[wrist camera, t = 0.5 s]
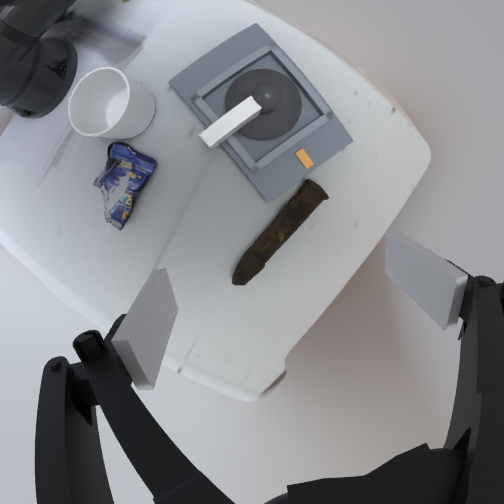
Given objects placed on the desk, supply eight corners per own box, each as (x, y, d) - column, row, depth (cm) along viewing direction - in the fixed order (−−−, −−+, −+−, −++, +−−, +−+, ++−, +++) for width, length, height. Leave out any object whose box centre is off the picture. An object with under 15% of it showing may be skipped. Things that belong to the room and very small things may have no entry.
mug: (99, 79, 32) (63, 63, 22) (165, 90, 33) (140, 70, 23) (82, 129, 34) (42, 127, 24) (145, 145, 36) (115, 142, 26)
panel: (172, 86, 33) (164, 79, 29) (255, 29, 31) (256, 17, 27) (266, 200, 40) (269, 205, 36) (347, 141, 37) (358, 140, 33)
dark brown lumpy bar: (306, 175, 39) (314, 177, 34) (325, 194, 40) (334, 199, 35) (219, 266, 43) (217, 278, 39) (238, 281, 44) (238, 295, 40)
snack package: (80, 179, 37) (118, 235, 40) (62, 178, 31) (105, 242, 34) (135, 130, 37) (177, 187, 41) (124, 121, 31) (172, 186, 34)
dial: (268, 60, 30) (274, 41, 24) (313, 113, 33) (328, 105, 27) (188, 117, 33) (177, 109, 26) (233, 171, 35) (232, 174, 29)
